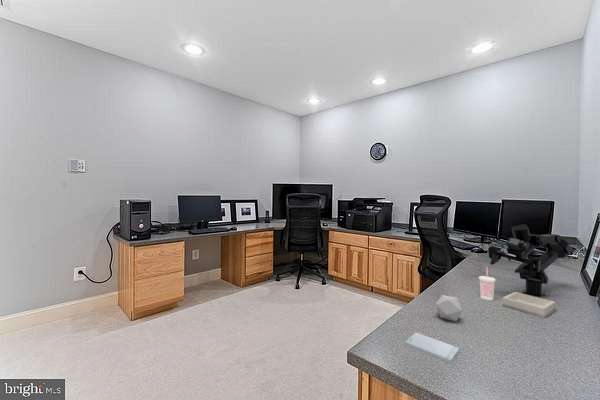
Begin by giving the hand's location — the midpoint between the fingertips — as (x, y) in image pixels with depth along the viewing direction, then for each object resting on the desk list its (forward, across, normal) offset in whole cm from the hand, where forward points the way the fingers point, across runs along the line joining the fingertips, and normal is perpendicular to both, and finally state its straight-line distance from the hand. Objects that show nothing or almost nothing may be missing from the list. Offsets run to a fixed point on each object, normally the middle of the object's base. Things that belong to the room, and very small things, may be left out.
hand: (502, 267), depth 112 cm
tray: (+4, +10, +13) cm, 17 cm away
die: (+39, +1, -1) cm, 39 cm away
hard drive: (+60, +11, -12) cm, 62 cm away
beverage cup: (+7, -3, +14) cm, 16 cm away
